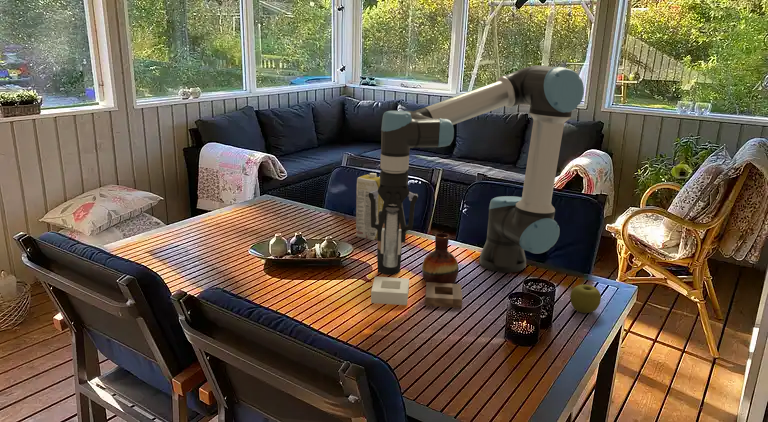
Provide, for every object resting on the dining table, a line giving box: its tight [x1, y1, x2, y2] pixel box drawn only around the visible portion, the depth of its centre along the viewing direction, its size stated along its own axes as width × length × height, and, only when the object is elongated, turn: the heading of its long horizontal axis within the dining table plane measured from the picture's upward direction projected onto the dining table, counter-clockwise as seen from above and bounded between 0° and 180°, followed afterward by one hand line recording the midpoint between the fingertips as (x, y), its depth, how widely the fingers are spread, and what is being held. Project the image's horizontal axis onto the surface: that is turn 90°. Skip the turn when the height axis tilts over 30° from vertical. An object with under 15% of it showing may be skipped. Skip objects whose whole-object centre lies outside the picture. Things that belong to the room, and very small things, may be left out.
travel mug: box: [376, 211, 403, 276], centre depth 175 cm, size 8×8×20 cm
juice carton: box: [355, 172, 384, 241], centre depth 207 cm, size 9×8×24 cm
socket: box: [370, 276, 410, 306], centre depth 160 cm, size 10×10×4 cm
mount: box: [424, 281, 463, 309], centre depth 159 cm, size 10×10×4 cm
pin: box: [383, 204, 400, 267], centre depth 154 cm, size 5×5×17 cm
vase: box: [421, 232, 459, 284], centre depth 170 cm, size 11×11×15 cm
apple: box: [569, 284, 602, 314], centre depth 155 cm, size 8×8×7 cm
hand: (390, 252), depth 156 cm, fingers closed on pin, 4 cm apart
